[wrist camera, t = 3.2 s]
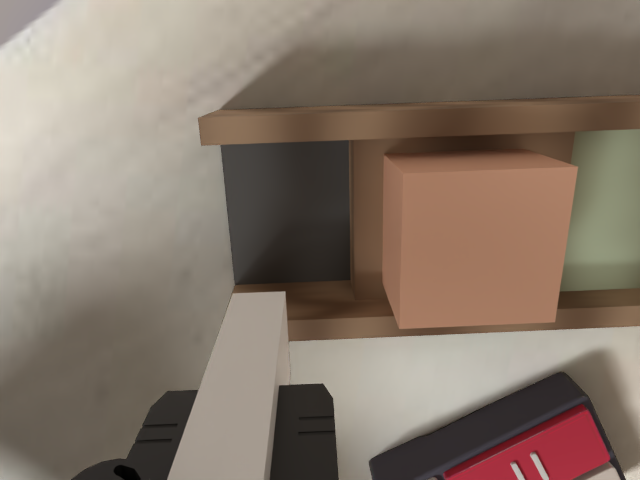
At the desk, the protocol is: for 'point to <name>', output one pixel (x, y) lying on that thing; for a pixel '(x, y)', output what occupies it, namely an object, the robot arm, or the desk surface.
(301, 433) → the robot arm
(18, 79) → the desk surface
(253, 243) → the trap channel
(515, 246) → the block
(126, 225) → the desk surface
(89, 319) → the desk surface
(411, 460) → the calculator
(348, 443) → the desk surface
